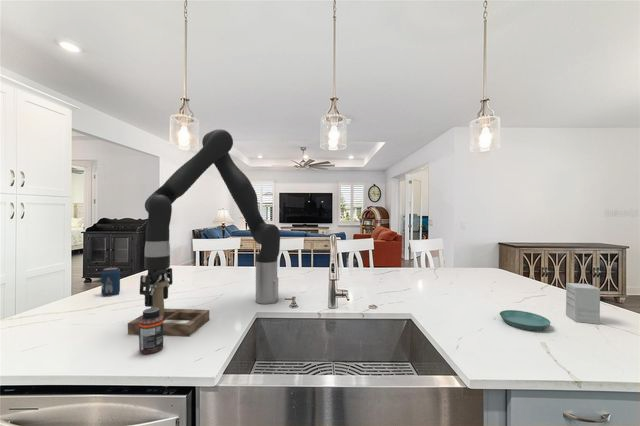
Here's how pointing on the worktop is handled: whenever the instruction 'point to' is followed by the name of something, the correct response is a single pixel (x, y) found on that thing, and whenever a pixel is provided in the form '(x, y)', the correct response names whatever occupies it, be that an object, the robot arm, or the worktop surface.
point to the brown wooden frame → (176, 322)
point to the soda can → (110, 281)
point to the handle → (159, 297)
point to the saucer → (524, 320)
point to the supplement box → (583, 303)
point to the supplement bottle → (151, 331)
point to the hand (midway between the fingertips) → (157, 302)
